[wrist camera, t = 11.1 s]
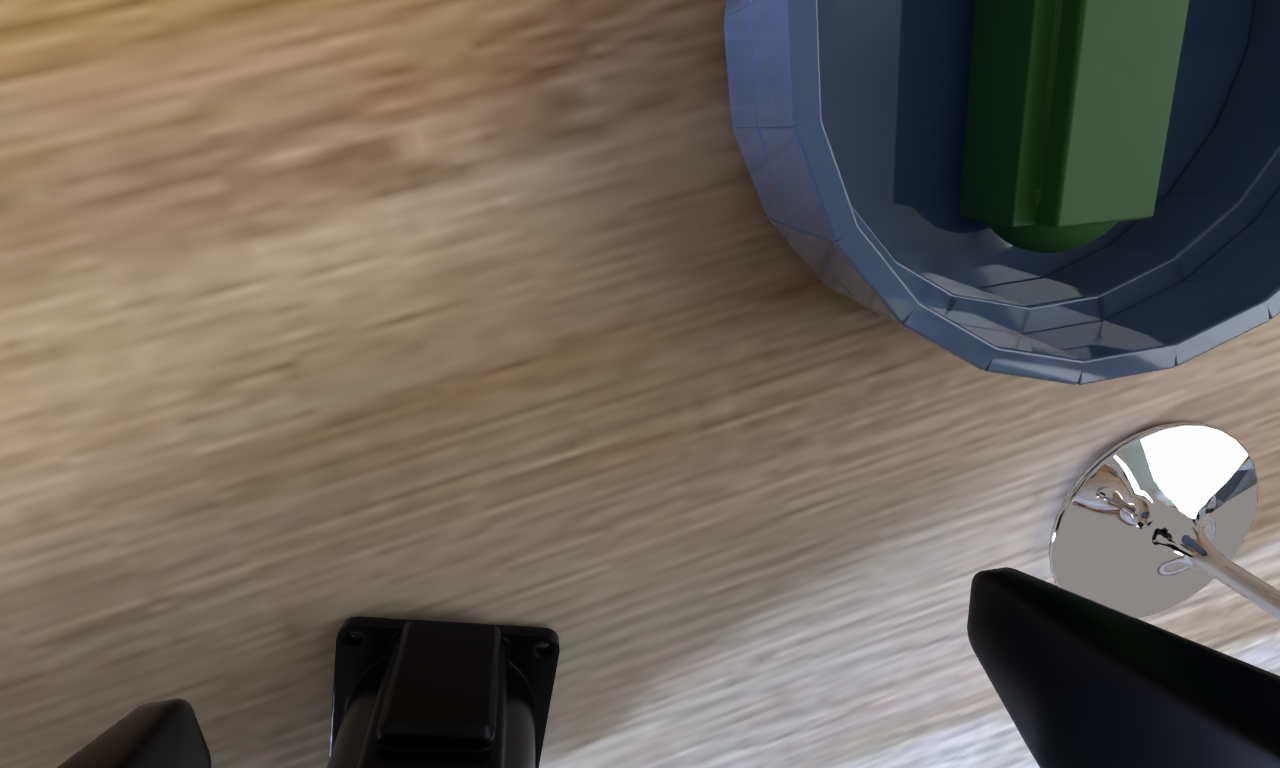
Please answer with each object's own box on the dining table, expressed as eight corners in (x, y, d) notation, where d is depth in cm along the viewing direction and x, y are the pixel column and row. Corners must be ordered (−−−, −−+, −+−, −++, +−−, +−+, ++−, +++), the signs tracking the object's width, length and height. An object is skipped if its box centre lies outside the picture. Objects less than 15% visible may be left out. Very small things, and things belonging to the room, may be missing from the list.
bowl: (1139, 357, 22) (1302, 418, 17) (665, 282, 19) (708, 331, 14) (1386, -231, 17) (1699, -364, 13) (808, -451, 14) (941, -727, 10)
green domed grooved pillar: (1060, 235, 20) (1170, 256, 16) (941, 248, 19) (1027, 272, 16) (1117, -220, 16) (1272, -312, 13) (972, -215, 16) (1092, -309, 12)
